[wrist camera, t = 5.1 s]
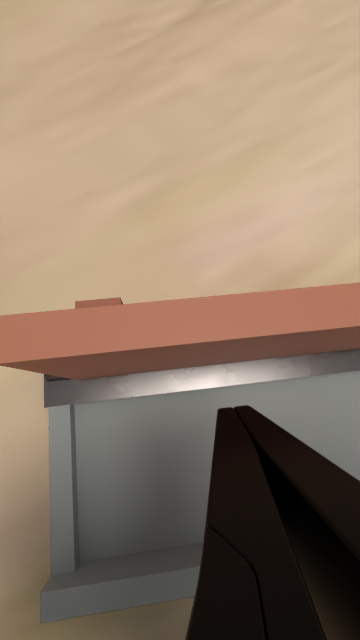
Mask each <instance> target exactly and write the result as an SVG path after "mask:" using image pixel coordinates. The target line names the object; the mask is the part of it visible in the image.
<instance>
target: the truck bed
mask: <svg viewBox="0 0 360 640" xmlns="http://www.w3.org/2000/svg"><path fill="white" fill-rule="evenodd" d="M243 405H249V406H251V407H252V408H254V409H255V410H257V411H258V412H260V413H261V414H262V415H264V416H265V417H267V418H268V419H270V420H271V421H273V422H274V423H276V424H277V425H279V426H280V427H282V428H283V429H284V430H286V431H287V432H289V433H290V434H292V435H293V436H295V437H296V438H298V439H299V440H301V441H302V442H303V443H305V444H306V445H308V446H309V447H311V448H312V449H314V450H315V451H317V452H318V453H320V454H321V455H323V456H324V457H325V458H327V459H328V460H330V461H331V462H333V463H334V464H336V465H337V466H339V467H340V468H342V469H343V470H344V471H346V472H347V473H349V474H350V475H352V476H353V477H355V478H356V479H358V480H359V481H360V371H352V372H343V373H335V374H326V375H318V376H309V377H301V378H292V379H284V380H275V381H267V382H258V383H250V384H241V385H233V386H224V387H216V388H207V389H199V390H190V391H182V392H173V393H165V394H156V395H148V396H139V397H131V398H122V399H114V400H105V401H97V402H88V403H80V404H71V405H62V406H54V407H49V465H50V537H51V576H50V578H49V580H48V581H47V583H46V584H45V586H44V588H43V589H42V591H41V593H40V623H47V622H52V621H58V620H64V619H69V618H75V617H81V616H87V615H92V614H98V613H104V612H109V611H115V610H121V609H127V608H132V607H138V606H144V605H149V604H155V603H161V602H167V601H172V600H178V599H184V598H189V597H195V592H196V587H197V582H198V576H199V569H200V562H201V555H202V548H203V539H204V529H205V522H206V513H207V503H208V494H209V484H210V475H211V465H212V456H213V446H214V437H215V427H216V418H217V410H218V409H219V408H227V407H232V408H234V407H235V406H243Z"/></svg>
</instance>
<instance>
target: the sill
mask: <svg viewBox="0 0 360 640" xmlns="http://www.w3.org/2000/svg"><path fill="white" fill-rule="evenodd" d="M352 371H360V348H359V349H350V350H341V351H333V352H324V353H315V354H306V355H297V356H288V357H279V358H270V359H261V360H252V361H243V362H234V363H225V364H216V365H207V366H198V367H189V368H180V369H171V370H162V371H153V372H144V373H135V374H126V375H117V376H108V377H99V378H90V379H81V380H74V379H69V378H64V377H59V376H53V375H48V374H44V408H45V407H54V406H62V405H71V404H80V403H88V402H97V401H105V400H114V399H122V398H131V397H139V396H148V395H156V394H165V393H173V392H182V391H190V390H199V389H207V388H216V387H224V386H233V385H241V384H250V383H258V382H267V381H275V380H284V379H292V378H301V377H309V376H318V375H326V374H335V373H343V372H352Z"/></svg>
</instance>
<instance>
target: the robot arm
mask: <svg viewBox="0 0 360 640" xmlns="http://www.w3.org/2000/svg"><path fill="white" fill-rule="evenodd" d="M185 640H360V481H359V480H358V479H356V478H355V477H353V476H352V475H350V474H349V473H347V472H346V471H344V470H343V469H342V468H340V467H339V466H337V465H336V464H334V463H333V462H331V461H330V460H328V459H327V458H325V457H324V456H323V455H321V454H320V453H318V452H317V451H315V450H314V449H312V448H311V447H309V446H308V445H306V444H305V443H303V442H302V441H301V440H299V439H298V438H296V437H295V436H293V435H292V434H290V433H289V432H287V431H286V430H284V429H283V428H282V427H280V426H279V425H277V424H276V423H274V422H273V421H271V420H270V419H268V418H267V417H265V416H264V415H262V414H261V413H260V412H258V411H257V410H255V409H254V408H252V407H251V406H249V405H243V406H235V407H234V408H232V407H227V408H219V409H218V410H217V418H216V427H215V437H214V446H213V456H212V465H211V475H210V484H209V494H208V503H207V513H206V522H205V529H204V539H203V548H202V555H201V562H200V569H199V576H198V582H197V587H196V592H195V597H194V602H193V607H192V611H191V616H190V621H189V625H188V630H187V634H186V638H185Z"/></svg>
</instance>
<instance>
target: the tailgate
mask: <svg viewBox="0 0 360 640" xmlns="http://www.w3.org/2000/svg"><path fill="white" fill-rule="evenodd" d="M359 348H360V283H351V284H340V285H330V286H319V287H308V288H297V289H286V290H275V291H264V292H254V293H243V294H232V295H221V296H210V297H199V298H188V299H178V300H167V301H156V302H145V303H134V304H123V303H122V300H121V298H109V299H98V300H87V301H75V309H69V310H58V311H47V312H36V313H26V314H15V315H4V316H0V366H6V367H11V368H16V369H22V370H27V371H32V372H37V373H43V374H48V375H53V376H59V377H64V378H69V379H74V380H81V379H90V378H99V377H108V376H117V375H126V374H135V373H144V372H153V371H162V370H171V369H180V368H189V367H198V366H207V365H216V364H225V363H234V362H243V361H252V360H261V359H270V358H279V357H288V356H297V355H306V354H315V353H324V352H333V351H341V350H350V349H359Z"/></svg>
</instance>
